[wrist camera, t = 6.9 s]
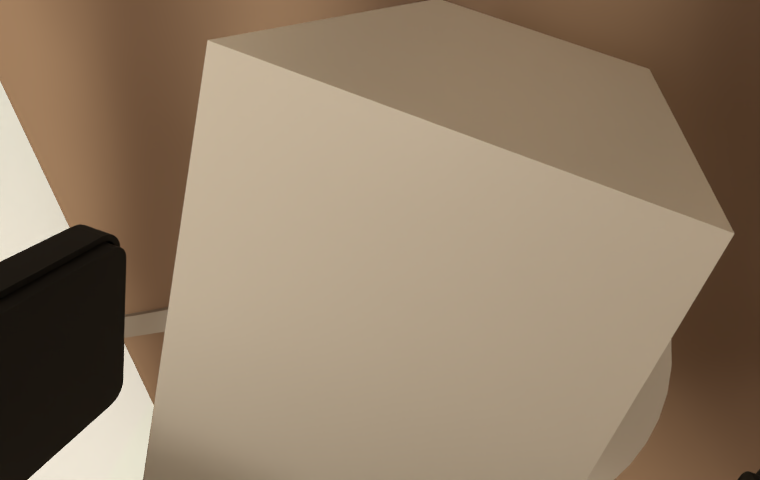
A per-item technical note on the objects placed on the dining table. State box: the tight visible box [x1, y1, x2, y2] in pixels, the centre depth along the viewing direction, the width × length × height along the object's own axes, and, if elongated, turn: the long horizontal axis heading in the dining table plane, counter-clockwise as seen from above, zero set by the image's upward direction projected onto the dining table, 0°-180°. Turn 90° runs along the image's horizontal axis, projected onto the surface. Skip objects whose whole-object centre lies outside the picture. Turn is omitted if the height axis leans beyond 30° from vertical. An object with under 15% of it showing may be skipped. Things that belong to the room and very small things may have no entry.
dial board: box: [0, 0, 760, 480], centre depth 15 cm, size 20×20×2 cm
